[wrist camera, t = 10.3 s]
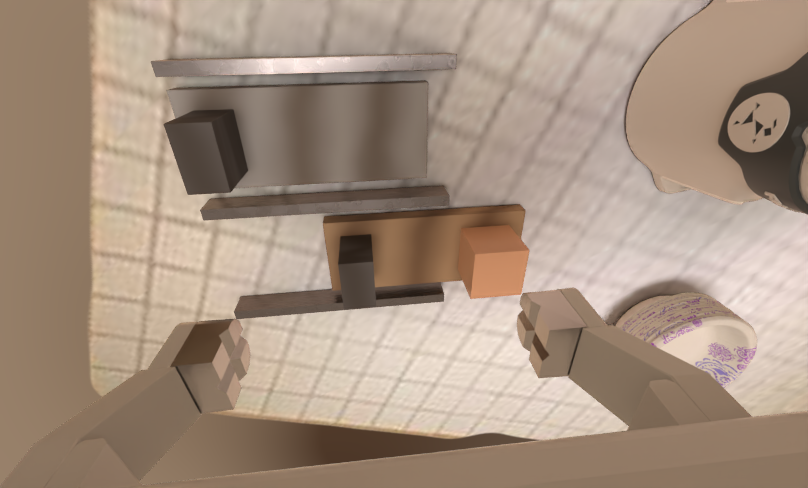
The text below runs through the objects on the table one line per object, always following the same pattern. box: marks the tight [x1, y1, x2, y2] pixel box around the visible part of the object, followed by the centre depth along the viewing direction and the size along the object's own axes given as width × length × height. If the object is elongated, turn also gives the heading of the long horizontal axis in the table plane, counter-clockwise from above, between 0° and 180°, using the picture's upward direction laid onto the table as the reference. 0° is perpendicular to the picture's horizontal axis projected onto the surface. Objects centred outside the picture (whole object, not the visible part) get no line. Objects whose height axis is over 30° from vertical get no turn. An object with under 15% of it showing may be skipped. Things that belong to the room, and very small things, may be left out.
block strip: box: [323, 205, 525, 310], centre depth 35 cm, size 20×8×6 cm, turn 91°
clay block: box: [458, 225, 529, 299], centre depth 35 cm, size 5×5×5 cm
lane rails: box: [151, 53, 457, 319], centre depth 33 cm, size 22×24×2 cm
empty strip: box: [164, 81, 428, 195], centre depth 28 cm, size 20×8×6 cm, turn 91°
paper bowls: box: [615, 292, 757, 388], centre depth 45 cm, size 15×15×8 cm
